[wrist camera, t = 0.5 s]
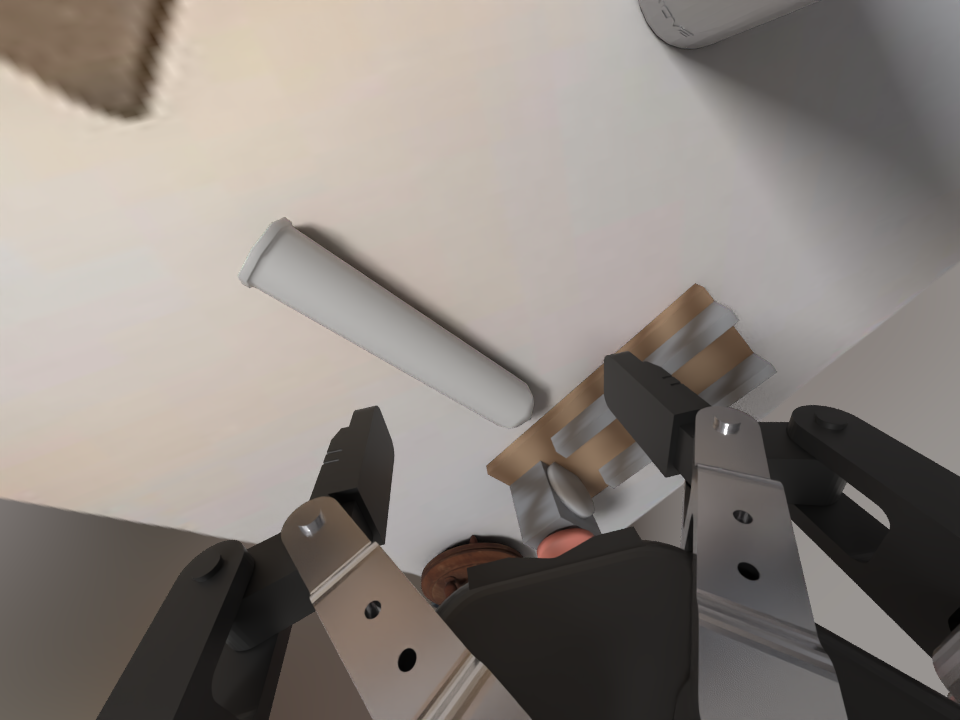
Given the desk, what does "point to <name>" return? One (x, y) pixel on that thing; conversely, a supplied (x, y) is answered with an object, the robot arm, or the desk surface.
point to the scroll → (459, 567)
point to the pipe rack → (602, 438)
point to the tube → (381, 323)
